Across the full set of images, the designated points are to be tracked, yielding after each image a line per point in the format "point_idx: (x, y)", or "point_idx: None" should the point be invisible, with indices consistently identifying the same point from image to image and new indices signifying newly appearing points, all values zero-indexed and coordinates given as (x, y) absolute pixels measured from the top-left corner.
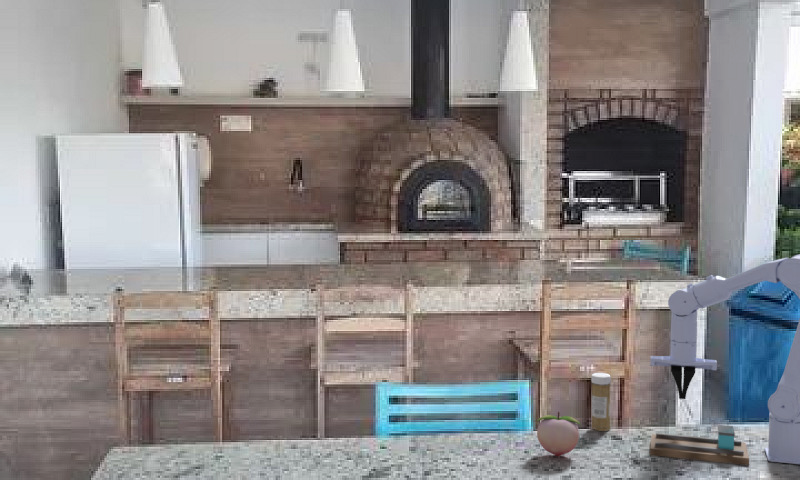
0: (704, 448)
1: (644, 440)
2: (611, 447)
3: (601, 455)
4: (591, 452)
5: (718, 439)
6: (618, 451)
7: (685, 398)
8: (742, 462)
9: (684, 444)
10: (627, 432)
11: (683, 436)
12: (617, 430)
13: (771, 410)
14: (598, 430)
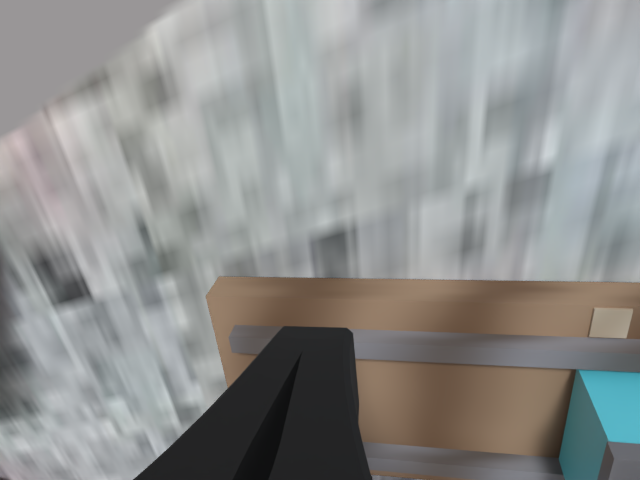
0: (483, 477)
1: (188, 284)
2: (98, 391)
3: (102, 461)
4: (62, 444)
5: (578, 452)
6: (137, 422)
7: (358, 412)
8: None
9: (386, 400)
10: (73, 189)
11: (377, 356)
12: (17, 173)
13: None
14: None
